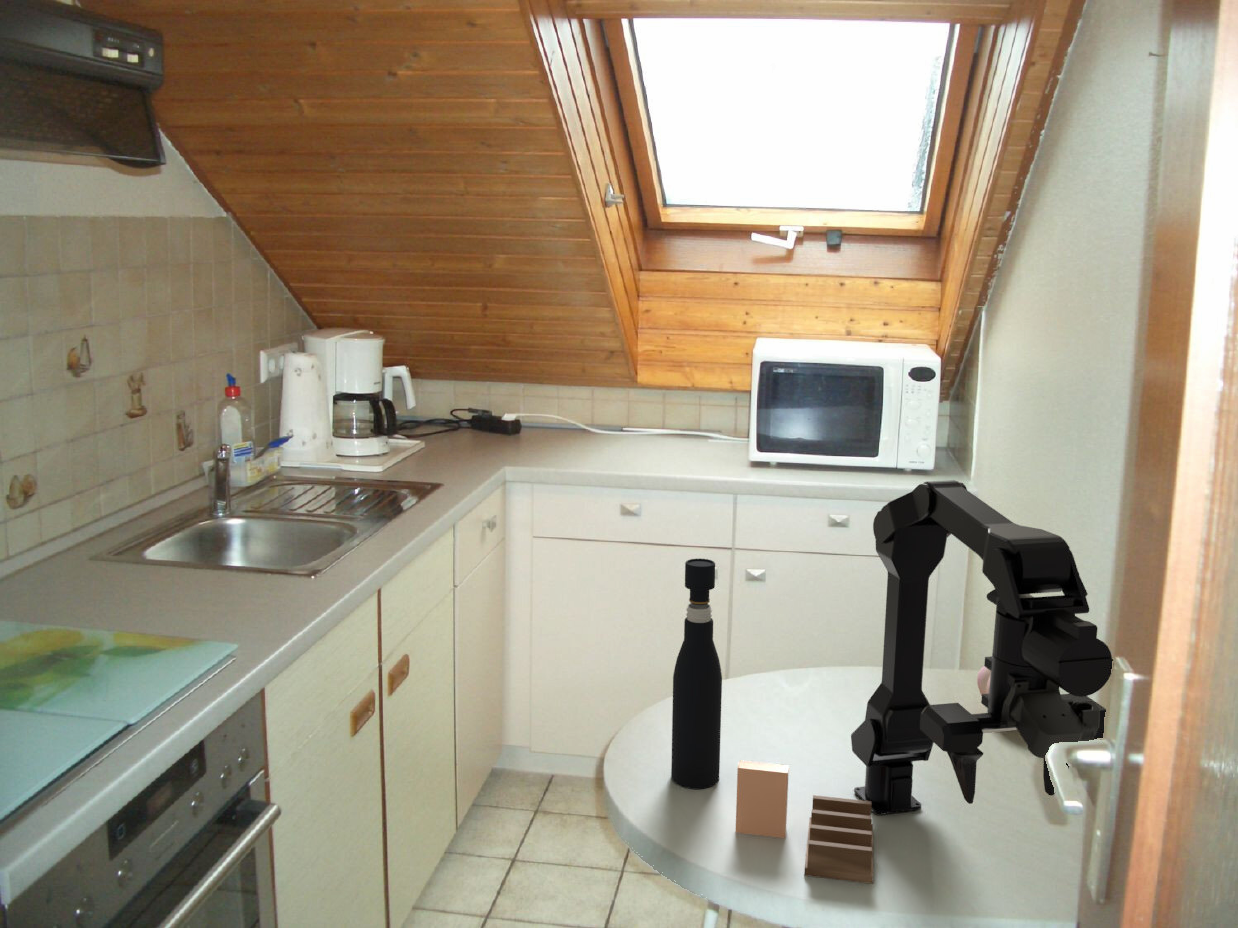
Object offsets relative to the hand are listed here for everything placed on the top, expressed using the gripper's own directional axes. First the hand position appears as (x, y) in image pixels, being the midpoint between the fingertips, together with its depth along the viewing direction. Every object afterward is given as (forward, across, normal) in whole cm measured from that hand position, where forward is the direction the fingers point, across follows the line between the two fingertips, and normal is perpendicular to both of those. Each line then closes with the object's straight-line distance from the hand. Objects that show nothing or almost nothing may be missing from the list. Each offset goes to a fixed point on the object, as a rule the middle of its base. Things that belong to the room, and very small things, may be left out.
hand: (1009, 797), depth 118 cm
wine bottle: (+15, -23, +37) cm, 46 cm away
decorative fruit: (+15, +28, +47) cm, 57 cm away
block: (+15, -19, +22) cm, 33 cm away
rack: (+14, -11, +16) cm, 24 cm away
